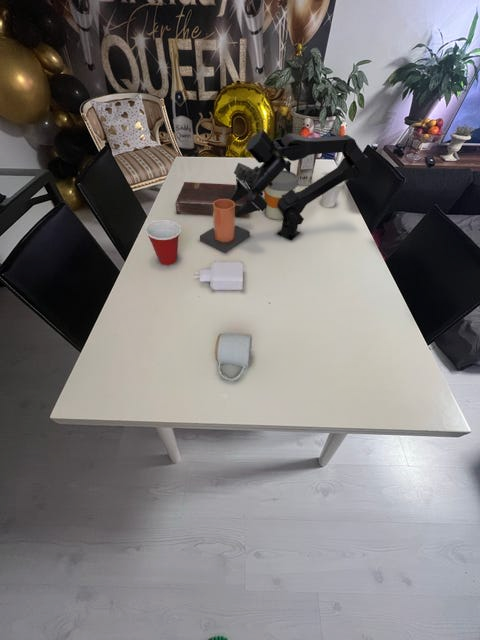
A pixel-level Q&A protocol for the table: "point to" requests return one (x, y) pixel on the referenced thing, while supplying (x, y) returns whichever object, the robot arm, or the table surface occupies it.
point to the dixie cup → (331, 196)
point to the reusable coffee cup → (278, 192)
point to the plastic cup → (164, 239)
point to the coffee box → (306, 169)
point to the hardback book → (205, 198)
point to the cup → (224, 220)
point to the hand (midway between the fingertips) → (233, 209)
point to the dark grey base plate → (225, 246)
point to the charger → (223, 275)
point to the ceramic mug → (233, 351)
